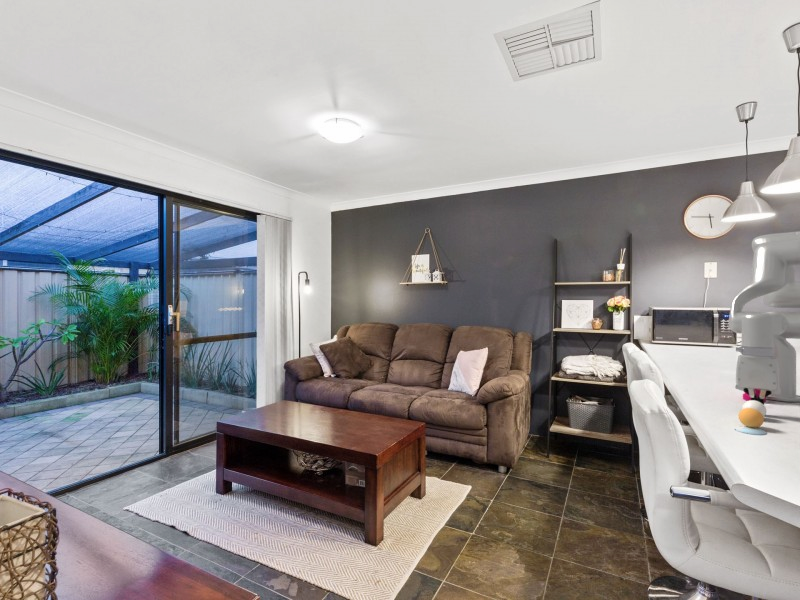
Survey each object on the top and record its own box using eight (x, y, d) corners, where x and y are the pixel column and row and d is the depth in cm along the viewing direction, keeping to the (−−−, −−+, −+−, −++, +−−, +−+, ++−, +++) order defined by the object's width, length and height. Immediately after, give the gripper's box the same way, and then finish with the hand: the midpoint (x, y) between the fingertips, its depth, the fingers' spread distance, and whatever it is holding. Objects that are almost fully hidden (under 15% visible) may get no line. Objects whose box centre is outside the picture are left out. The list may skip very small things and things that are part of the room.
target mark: (738, 425, 117) (738, 424, 117) (770, 431, 111) (770, 431, 111) (728, 429, 114) (728, 428, 114) (760, 436, 108) (760, 435, 108)
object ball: (741, 401, 117) (739, 416, 114) (766, 407, 113) (765, 422, 110) (737, 413, 120) (735, 427, 117) (762, 419, 116) (760, 434, 113)
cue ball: (743, 398, 123) (743, 416, 122) (767, 401, 120) (767, 420, 119) (741, 399, 128) (741, 417, 126) (765, 402, 124) (765, 420, 123)
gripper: (725, 351, 129) (725, 407, 130) (789, 356, 119) (789, 417, 119) (728, 349, 135) (729, 403, 135) (790, 353, 124) (791, 412, 124)
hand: (757, 410), depth 127 cm, fingers closed
